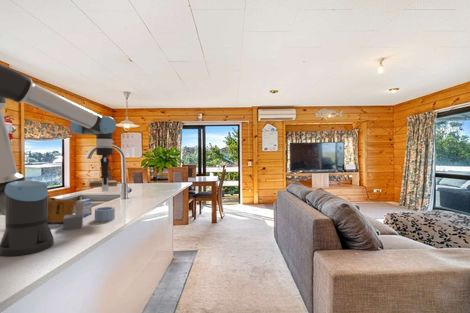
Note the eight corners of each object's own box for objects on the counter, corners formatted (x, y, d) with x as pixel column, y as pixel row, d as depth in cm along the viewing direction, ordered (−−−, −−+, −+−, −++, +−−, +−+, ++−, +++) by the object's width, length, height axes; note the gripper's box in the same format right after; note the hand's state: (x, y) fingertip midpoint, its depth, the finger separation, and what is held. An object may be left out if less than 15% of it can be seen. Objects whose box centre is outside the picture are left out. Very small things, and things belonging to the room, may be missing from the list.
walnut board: (117, 186, 129) (117, 182, 129) (89, 187, 124) (89, 183, 124) (115, 183, 140) (115, 180, 140) (90, 184, 134) (90, 181, 134)
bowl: (114, 220, 130) (114, 209, 130) (94, 222, 126) (94, 211, 126) (114, 216, 138) (114, 206, 138) (94, 218, 134) (94, 207, 134)
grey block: (81, 227, 117) (81, 216, 117) (63, 230, 113) (63, 218, 113) (82, 224, 123) (82, 213, 123) (65, 226, 120) (65, 215, 120)
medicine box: (83, 217, 136) (83, 201, 136) (74, 217, 136) (74, 201, 136) (91, 214, 144) (91, 198, 144) (83, 214, 144) (83, 198, 144)
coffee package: (41, 197, 133) (82, 198, 132) (37, 221, 131) (79, 223, 130) (25, 196, 124) (69, 197, 123) (20, 222, 121) (65, 224, 120)
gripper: (113, 147, 123) (114, 192, 123) (111, 148, 144) (111, 186, 145) (96, 146, 119) (96, 193, 120) (96, 147, 141) (96, 187, 141)
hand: (104, 189), depth 132 cm, fingers closed on walnut board, 12 cm apart
